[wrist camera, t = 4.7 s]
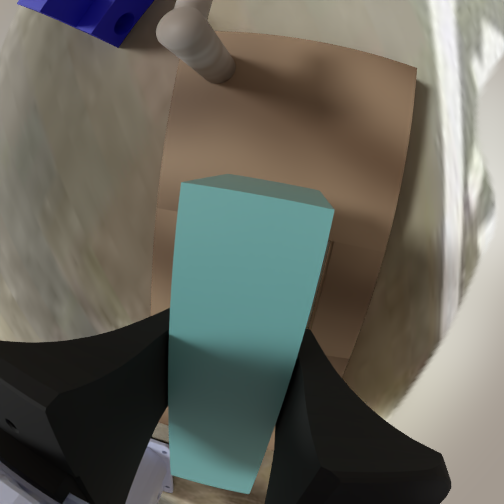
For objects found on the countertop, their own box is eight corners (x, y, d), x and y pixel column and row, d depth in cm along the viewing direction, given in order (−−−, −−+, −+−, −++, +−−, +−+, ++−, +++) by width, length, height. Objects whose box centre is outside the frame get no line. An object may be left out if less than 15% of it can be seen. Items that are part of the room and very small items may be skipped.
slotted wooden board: (306, 443, 19) (302, 512, 13) (159, 409, 20) (125, 470, 14) (409, 64, 12) (464, 18, 6) (196, 29, 13) (144, -27, 7)
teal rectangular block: (262, 420, 14) (249, 494, 9) (199, 405, 14) (170, 474, 10) (319, 190, 10) (334, 209, 6) (227, 173, 11) (180, 182, 6)
